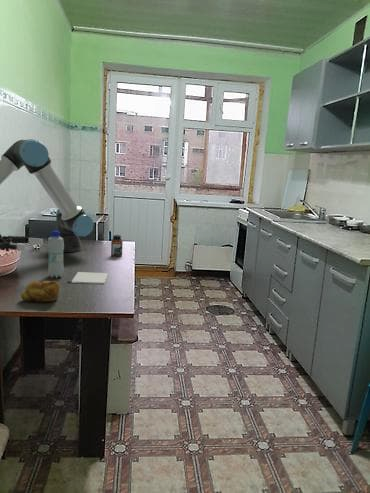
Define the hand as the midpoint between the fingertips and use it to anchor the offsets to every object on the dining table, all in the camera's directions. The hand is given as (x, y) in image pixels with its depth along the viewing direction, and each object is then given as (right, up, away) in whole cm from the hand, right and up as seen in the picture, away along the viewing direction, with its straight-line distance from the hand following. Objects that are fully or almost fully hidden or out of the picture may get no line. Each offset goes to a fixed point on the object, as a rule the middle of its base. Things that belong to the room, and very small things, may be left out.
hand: (33, 244), depth 165 cm
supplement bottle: (+27, -6, +44) cm, 52 cm away
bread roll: (+13, -20, -26) cm, 35 cm away
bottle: (+9, -14, +1) cm, 16 cm away
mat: (+23, -14, +2) cm, 27 cm away
